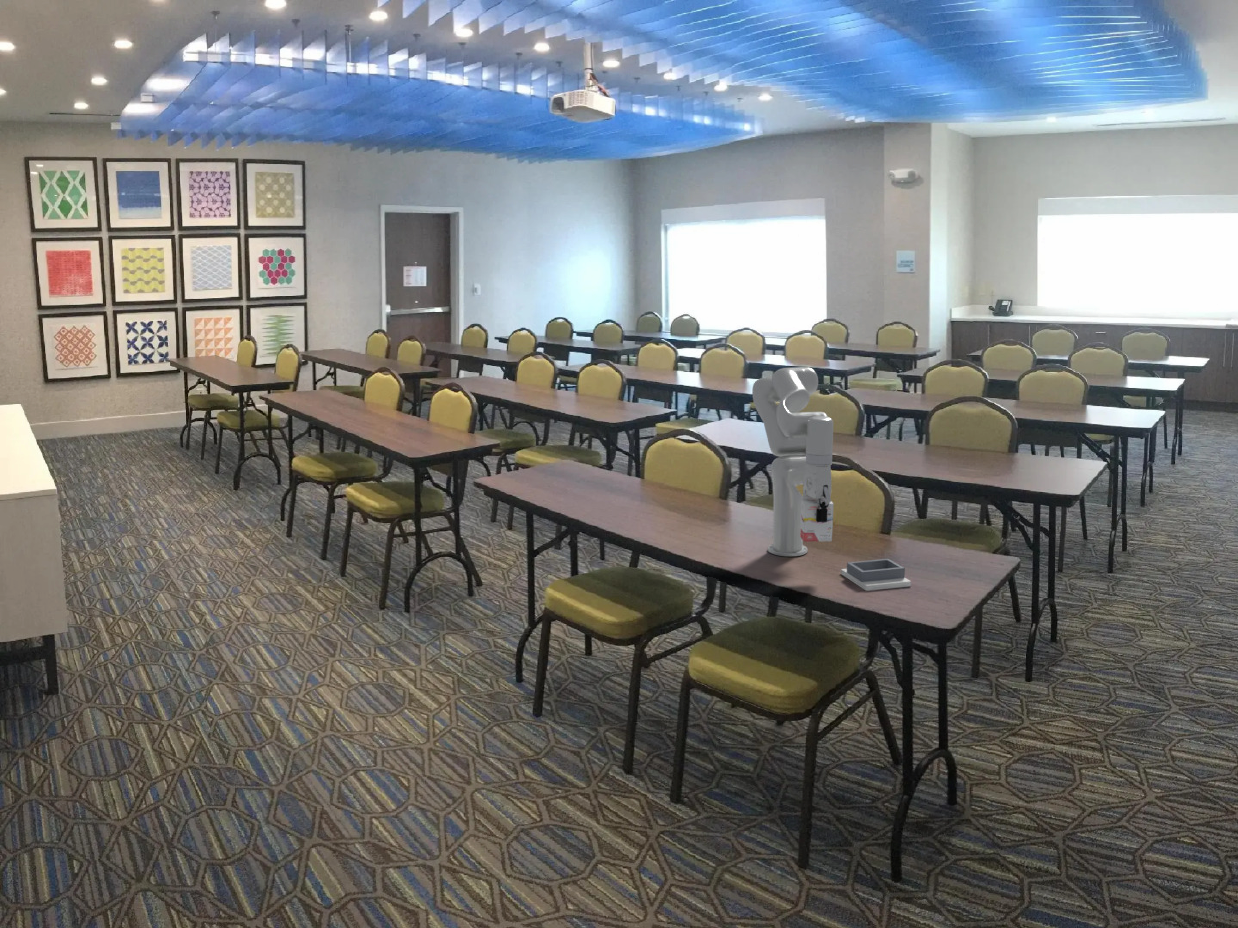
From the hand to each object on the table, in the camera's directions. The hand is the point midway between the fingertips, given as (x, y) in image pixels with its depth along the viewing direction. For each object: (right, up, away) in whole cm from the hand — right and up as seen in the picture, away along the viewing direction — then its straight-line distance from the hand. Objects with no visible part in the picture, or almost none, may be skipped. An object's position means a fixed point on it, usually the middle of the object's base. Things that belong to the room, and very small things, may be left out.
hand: (816, 518), depth 283 cm
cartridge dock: (+17, -18, -1) cm, 25 cm away
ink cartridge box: (0, -7, +2) cm, 7 cm away
